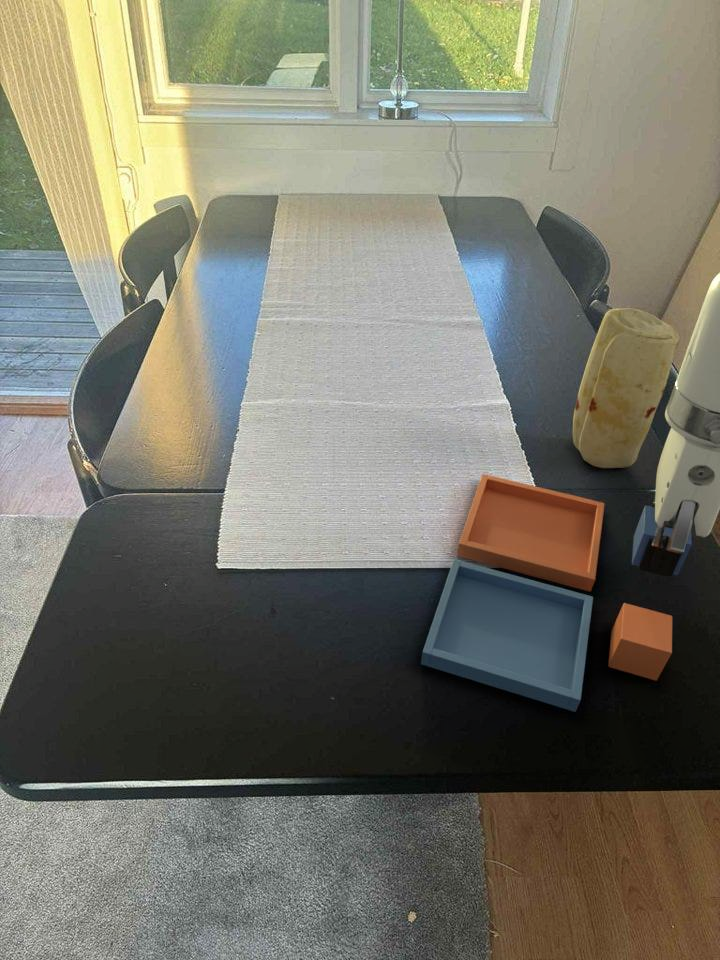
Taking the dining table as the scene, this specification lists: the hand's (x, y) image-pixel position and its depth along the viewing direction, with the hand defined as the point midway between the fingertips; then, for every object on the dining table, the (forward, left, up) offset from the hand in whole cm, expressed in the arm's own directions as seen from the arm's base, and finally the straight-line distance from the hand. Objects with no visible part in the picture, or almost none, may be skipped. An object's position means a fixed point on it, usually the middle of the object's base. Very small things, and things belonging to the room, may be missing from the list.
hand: (656, 552), depth 73 cm
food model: (+7, -20, -4) cm, 22 cm away
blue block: (0, 0, 0) cm, 0 cm away
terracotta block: (+1, +11, -4) cm, 11 cm away
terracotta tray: (+13, -2, -4) cm, 13 cm away
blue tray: (+13, +13, -4) cm, 18 cm away
